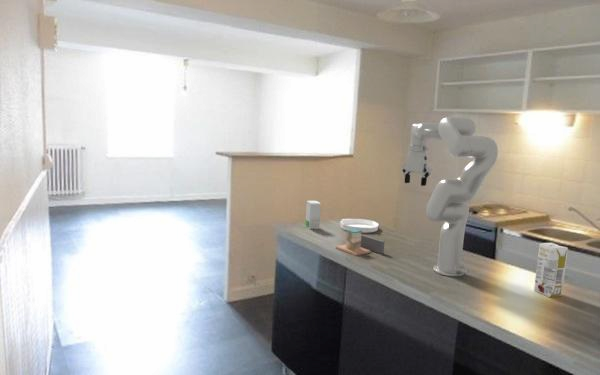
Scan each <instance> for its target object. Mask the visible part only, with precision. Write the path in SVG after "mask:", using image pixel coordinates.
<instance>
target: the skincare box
mask: <svg viewBox="0 0 600 375" xmlns="http://www.w3.org/2000/svg"><path fill="white" fill-rule="evenodd" d="M305 209H306V210H305V222H304V226H305V228H307V229H308V230H319V229H320V223H321V211H322V210H321V209H322V203H321V202H319V201H317V200H306V208H305Z"/></svg>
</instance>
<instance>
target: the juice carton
mask: <svg viewBox="0 0 600 375" xmlns="http://www.w3.org/2000/svg"><path fill="white" fill-rule="evenodd" d="M538 247H539V249H538V255H537V264H536V271H535V277H534V279H535V280H534V286H533V289H534V292H536V293H539V294H541V295H543V296H545V297H547V298H555V297H561V296H562V294H563V288H564V282H565V274H566V267H567V259H568V250H569V247H568V246H562V245H559V244H556V243H555V242H540V243H539V246H538Z"/></svg>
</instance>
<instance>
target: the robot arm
mask: <svg viewBox="0 0 600 375" xmlns="http://www.w3.org/2000/svg"><path fill="white" fill-rule="evenodd" d="M476 130H477V125H476V122H475V121H474V120H473V119H472V118H469V117H465V116H464V117H463V116H461V117H459V116H445V117H444V118H442V119H441V120H440V122H439V123H437V122H436V123H435V122H433V123H432V122H422V123H421V122H420V123H413V124H412V125H411V133H410V144H409V151H408V153H407V157H406V162H405V163H404V164H402V165H401V168H402V172H403V175H404V184H409V183H411V182H410V181H411V173H416V174H420V175H421V179H420V186H422V187H424V186H426V185H427V178H428V177H429V176H430V175H431V173H432V171H433V168H432V167H431V166H429V156H428V155H429V154H428V152H427V151H428V150H429V148H428V147H427V144H428V143H427V142H428V140H430V141H431V140H432V141H433V140H436V141H443V143H444V144H445V146H446V148H447V149H448V151H449V153H450V154H451V155H452V156H454V157H455V158H465V159H466V158H470V159H472V158H473V160H472V161H470V162H469V163H468V164H466V166H464V168H463V169H462V172H461V174H460V175H459V176H458V177H457V178H444V179H442V180H439V182H438V183H437V184H436V186H435V188H434V190H433V192H432V194H431V196H430V199H429V201H428V203H427V205H426V211H425V212H426V217H427V219H428V220H429V221H431V222H434V223H443V224H442V226H441V227H440V228H441V229H440V232H439V233H440V234H439V241H438V242H439V244H438V254H437V264H435V265H434V266H433V268H432V269H433V271H434V272H435V273H437V274H439V275H441V276H442V275H443V276H445V277H447V276H448V277H461V276H464V275H468V274H469V271H470V269H469V268H467V267H465V266H464V265H465V264H464V263H463V262H462V261H463V260H462V259H463V250H464V249H463V248H464V239H465V232H466V231H465V230H466V226H467V221H468V218H469V214H470V206H469V205H468V202H471V201H472V200H474V198H475V196H476V195H477V193H478V191H479V189H480V188H481V185H482V184H483V182H484V180H485V178H486V176H488V174H489V172H490V171H491V169H492V168H493V167H494V166H495V163H496V161H497V158H498V153H499V150H498V144H497V143H496V140H494V139H492V138H490V137H488V136H486V135H485V136H484V135H474V134H475V132H476Z"/></svg>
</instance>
